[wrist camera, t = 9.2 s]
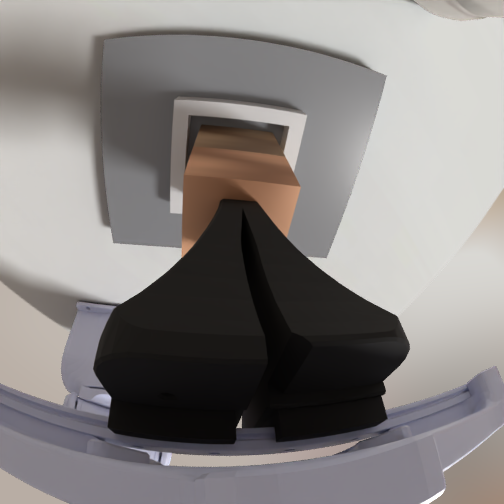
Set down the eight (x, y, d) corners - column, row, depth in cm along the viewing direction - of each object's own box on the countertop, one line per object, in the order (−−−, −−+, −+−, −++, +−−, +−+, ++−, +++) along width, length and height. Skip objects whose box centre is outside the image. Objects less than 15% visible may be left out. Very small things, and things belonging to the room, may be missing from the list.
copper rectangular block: (195, 187, 17) (181, 264, 11) (201, 124, 14) (183, 174, 9) (260, 193, 17) (276, 271, 12) (272, 132, 15) (300, 187, 10)
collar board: (119, 230, 20) (108, 253, 18) (113, 39, 11) (95, 39, 9) (321, 245, 23) (330, 268, 20) (375, 72, 14) (396, 78, 12)
